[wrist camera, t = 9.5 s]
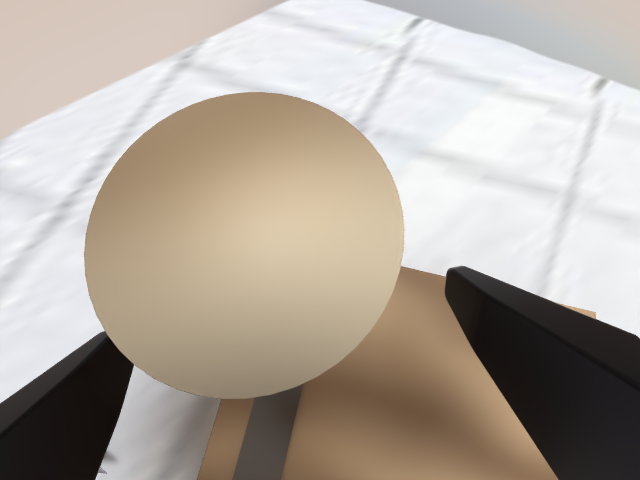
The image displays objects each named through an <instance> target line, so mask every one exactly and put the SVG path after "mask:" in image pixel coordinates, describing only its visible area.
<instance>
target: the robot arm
mask: <svg viewBox="0 0 640 480" xmlns="http://www.w3.org/2000/svg"><path fill="white" fill-rule="evenodd" d="M444 292H445V297H446V300H447V302H448V304H449V306H450V307H451V309H452V311H453V313H454V315H455V317H456V319H457V321H458V323H459V325H460V327H461V329H462V331H463V332H464V334H465V336H466V338H467V340H468V342H469V344H470V346H471V347H472V349H473V351H474V352H475V354H476V355H477V357H478V358H479V360H480V361H481V363H482V365H483V366H484V368H485V369H486V371H487V372H488V374H489V375H490V377H491V378H492V380H493V381H494V383H495V384H496V386H497V387H498V389H499V390H500V392H501V393H502V395H503V396H504V398H505V399H506V401H507V402H508V404H509V406H510V407H511V409H512V410H513V412H514V413H515V415H516V416H517V418H518V419H519V421H520V422H521V424H522V425H523V427H524V428H525V430H526V431H527V433H528V434H529V436H530V437H531V439H532V440H533V442H534V443H535V445H536V447H537V448H538V450H539V451H540V453H541V454H542V456H543V457H544V459H545V460H546V462H547V463H548V465H549V466H550V468H551V469H552V471H553V472H554V474H555V475H556V477H557V478H558V480H640V338H639V337H638V336H636V335H634V334H632V333H629V332H627V331H624V330H622V329H619V328H617V327H614V326H612V325H609V324H607V323H604V322H602V321H599V320H597V319H594V318H592V317H589V316H587V315H585V314H582V313H580V312H577V311H575V310H572V309H570V308H567V307H565V306H562V305H560V304H557V303H555V302H552V301H550V300H547V299H545V298H542V297H540V296H537V295H535V294H532V293H530V292H527V291H525V290H522V289H520V288H518V287H515V286H513V285H510V284H508V283H505V282H503V281H500V280H498V279H495V278H493V277H490V276H488V275H485V274H483V273H480V272H478V271H475V270H473V269H470V268H468V267H465V266H458V267H453V268H450V269H448V271H447V274H446V282H445V290H444ZM133 367H134V364H133V363H132V362H131V361H130V360H129V359H128V358H127V357H126V356H125V355H124V354H123V353H122V352H120V350H119V349H118V348H117V346H116V345H115V344H114V343H113V341H112V340H111V339H110V337H109V336H108V335H107V333H106V332H105V331H103V332H101V333H99V334H98V335H96V336H95V337H93V338H92V339H91V340H89V341H88V342H86V343H85V344H84V345H82V346H81V347H79V348H78V349H76V350H75V351H74V352H72V353H71V354H69V355H68V356H67V357H65V358H64V359H62V360H61V361H60V362H58V363H57V364H55V365H54V366H53V367H51V368H50V369H48V370H47V371H45V372H44V373H43V374H41V375H40V376H38V377H37V378H36V379H34V380H33V381H31V382H30V383H29V384H27V385H26V386H24V387H23V388H22V389H20V390H19V391H17V392H16V393H15V394H13V395H12V396H10V397H9V398H7V399H6V400H5V401H3V402H2V403H0V480H95V479H96V476H97V473H98V471H99V468H100V466H101V463H102V460H103V458H104V455H105V453H106V450H107V447H108V445H109V442H110V440H111V437H112V434H113V432H114V429H115V427H116V424H117V421H118V418H119V415H120V412H121V409H122V406H123V402H124V399H125V395H126V391H127V388H128V384H129V381H130V377H131V374H132V370H133Z"/></svg>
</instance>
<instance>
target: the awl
mask: <svg viewBox="0 0 640 480" xmlns="http://www.w3.org/2000/svg"><path fill="white" fill-rule="evenodd" d="M403 250H404V222H403V212H402V207H401V203H400V198H399V194H398V191H397V188H396V186H395V183H394V180H393V178H392V175H391V173H390V171H389V170H388V168H387V166H386V164H385V162H384V161H383V159H382V157H381V156H380V154H379V153H378V152H377V150H376V149H375V148H374V146H373V145H372V144H371V143H370V142H369V141H368V140H367V139H366V137H365V136H364V135H363V134H362V133H361V132H360V131H359V130H357V129H356V128H355V127H354V126H352V125H351V124H350V123H349V122H348V121H346V120H345V119H343V118H342V117H340V116H338V115H337V114H335V113H334V112H332V111H330V110H328V109H326V108H324V107H322V106H320V105H318V104H315V103H313V102H310V101H307V100H304V99H301V98H298V97H293V96H288V95H283V94H276V93H265V92H247V93H237V94H229V95H223V96H219V97H215V98H210V99H207V100H204V101H201V102H198V103H195V104H193V105H190V106H188V107H186V108H184V109H182V110H179V111H177V112H175V113H173V114H172V115H170V116H168V117H167V118H165V119H163V120H162V121H160V122H159V123H157V124H156V125H155V126H153V127H152V128H151V129H149V130H148V131H147V132H145V133H144V134H143V135H142V136H141V137H140V138H139V139H138V140H136V141H135V142H134V143H133V144H132V145H131V146H130V147H129V148H128V149H127V151H126V152H125V153H124V154H123V155H122V157H121V158H120V159H119V160H118V161H117V163H116V164H115V166H114V167H113V169H112V170H111V172H110V173H109V175H108V176H107V178H106V179H105V181H104V183H103V185H102V187H101V189H100V191H99V193H98V195H97V197H96V200H95V203H94V206H93V209H92V211H91V214H90V218H89V223H88V227H87V232H86V239H85V251H84V260H85V276H86V281H87V286H88V291H89V296H90V299H91V301H92V304H93V307H94V310H95V312H96V315H97V317H98V319H99V321H100V322H101V324H102V326H103V328H104V330H105V332H106V333H107V335H108V336H109V337H110V339H111V340H112V341H113V343H114V344H115V345H116V346H117V348H118V349H119V350H120V352H122V353H123V354H124V355H125V356H126V357H127V358H128V359H129V360H130V361H131V362H132V363H133V364H134V365H135V366H136V367H138V368H139V369H141V370H142V371H144V372H145V373H147V374H148V375H150V376H151V377H153V378H154V379H156V380H158V381H160V382H162V383H164V384H166V385H169V386H171V387H173V388H175V389H178V390H181V391H184V392H188V393H191V394H195V395H198V396H205V397H212V398H220V399H247V398H254V397H260V396H266V395H272V394H275V393H278V392H281V391H285V390H288V389H291V388H294V387H297V386H299V385H301V384H303V383H305V382H307V381H309V380H311V379H314V378H316V377H318V376H319V375H321V374H322V373H324V372H325V371H327V370H328V369H330V368H331V367H333V366H334V365H336V364H337V363H339V362H340V361H341V360H342V359H343V358H344V357H346V356H347V355H348V354H349V353H350V352H351V351H352V350H354V349H355V348H356V347H357V346H358V344H359V343H360V342H361V341H362V340H363V339H364V338H365V336H366V335H367V334H368V333H369V332H370V331H371V329H372V328H373V326H374V325H375V323H376V322H377V320H378V319H379V317H380V316H381V314H382V313H383V311H384V309H385V307H386V305H387V303H388V301H389V299H390V297H391V295H392V293H393V290H394V287H395V284H396V281H397V278H398V275H399V272H400V267H401V261H402V256H403Z"/></svg>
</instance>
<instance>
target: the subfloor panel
mask: <svg viewBox="0 0 640 480" xmlns="http://www.w3.org/2000/svg"><path fill="white" fill-rule="evenodd" d="M445 282H446V277H444V276H440V275H436V274H432V273H427V272H423V271H419V270H415V269H411V268H406V267H402V266H401V267H400V272H399V275H398V278H397V281H396V284H395V287H394V290H393V293H392V295H391V297H390V299H389V301H388V303H387V305H386V307H385V309H384V311H383V313H382V314H381V316H380V317H379V319H378V320H377V322H376V323H375V325H374V326H373V328H372V329H371V331H370V332H369V333H368V334H367V335H366V336H365V338H364V339H363V340H362V341H361V342H360V343H359V344H358V346H357V347H356V348H355V349H354V350H352V351H351V352H350V353H349V354H348V355H347V356H346V357H344V358H343V359H342V360H341V361H340V362H339V363H337V364H336V365H334V366H333V367H331V368H330V369H328V370H327V371H325V372H324V373H322V374H321V375H319V376H318V377H316V378H314V379H311V380H309V381H307V382H305V383H303V384H301V385H299V386H297V387H294V388H291V389H288V390H285V391H281V392H278V393H275V394H272V395H266V396H260V397H254V398H247V399H221V402H220V406H219V409H218V412H217V416H216V419H215V422H214V425H213V429H212V432H211V435H210V439H209V442H208V445H207V448H206V452H205V455H204V458H203V462H202V465H201V468H200V471H199V475H198V478H197V480H558V478H557V477H556V475H555V474H554V472H553V471H552V469H551V468H550V466H549V465H548V463H547V462H546V460H545V459H544V457H543V456H542V454H541V453H540V451H539V450H538V448H537V447H536V445H535V443H534V442H533V440H532V439H531V437H530V436H529V434H528V433H527V431H526V430H525V428H524V427H523V425H522V424H521V422H520V421H519V419H518V418H517V416H516V415H515V413H514V412H513V410H512V409H511V407H510V406H509V404H508V402H507V401H506V399H505V398H504V396H503V395H502V393H501V392H500V390H499V389H498V387H497V386H496V384H495V383H494V381H493V380H492V378H491V377H490V375H489V374H488V372H487V371H486V369H485V368H484V366H483V365H482V363H481V361H480V360H479V358H478V357H477V355H476V354H475V352H474V351H473V349H472V347H471V346H470V344H469V342H468V340H467V338H466V336H465V334H464V332H463V331H462V329H461V327H460V325H459V323H458V321H457V319H456V317H455V315H454V313H453V311H452V309H451V307H450V306H449V304H448V302H447V300H446V297H445V292H444V290H445ZM557 304H558V303H557ZM560 305H562V306H565V307H567V308H570V309H572V310H575V311H577V312H580V313H582V314H585V315H587V316H589V317H592V318H594V319H596V312H592V311H588V310H584V309H579V308H575V307H571V306H567V305H563V304H560Z"/></svg>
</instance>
